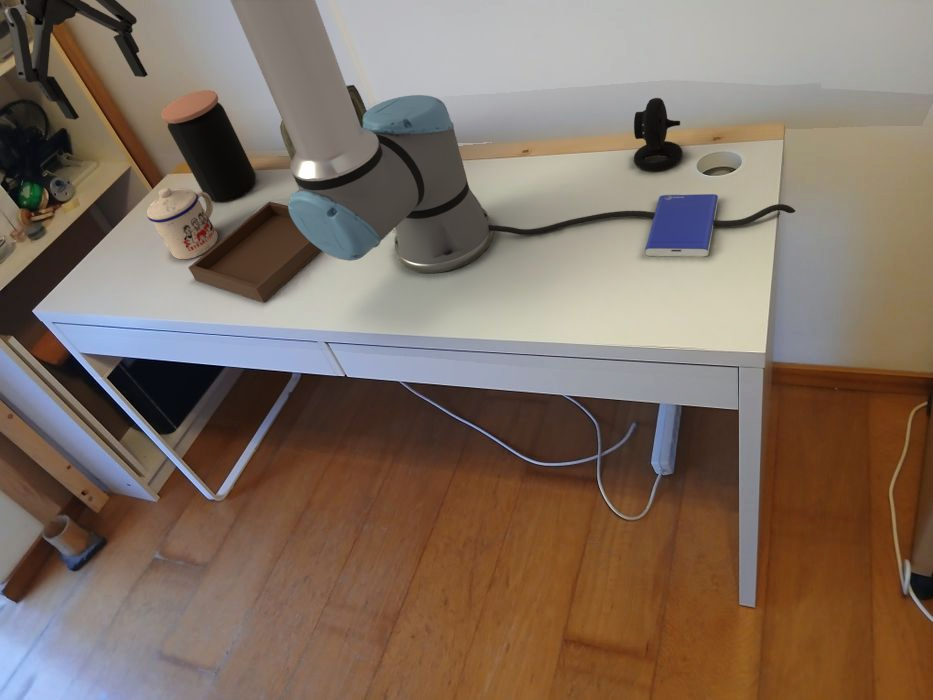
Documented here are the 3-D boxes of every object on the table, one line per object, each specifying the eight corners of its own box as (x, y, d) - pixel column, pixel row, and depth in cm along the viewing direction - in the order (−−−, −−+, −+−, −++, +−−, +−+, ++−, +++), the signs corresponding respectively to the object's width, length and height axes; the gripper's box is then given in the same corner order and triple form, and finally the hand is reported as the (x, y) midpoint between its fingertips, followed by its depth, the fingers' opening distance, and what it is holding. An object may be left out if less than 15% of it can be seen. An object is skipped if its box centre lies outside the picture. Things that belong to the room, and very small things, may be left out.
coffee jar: (267, 172, 151) (227, 87, 139) (242, 203, 144) (197, 116, 132) (223, 175, 155) (180, 92, 143) (196, 205, 148) (149, 121, 136)
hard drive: (659, 194, 111) (645, 247, 103) (717, 193, 108) (707, 247, 100) (659, 203, 112) (646, 256, 104) (718, 202, 109) (708, 256, 101)
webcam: (638, 147, 125) (633, 90, 118) (685, 145, 122) (682, 86, 115) (630, 173, 120) (623, 115, 113) (678, 172, 117) (675, 112, 110)
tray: (344, 230, 128) (338, 216, 126) (264, 303, 118) (256, 289, 116) (275, 214, 138) (269, 201, 136) (195, 280, 128) (187, 267, 126)
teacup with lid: (197, 263, 132) (163, 207, 124) (161, 258, 136) (127, 203, 128) (239, 222, 139) (210, 167, 131) (204, 219, 143) (174, 165, 135)
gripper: (83, -79, 114) (154, 58, 128) (-69, -9, 102) (29, 134, 116) (110, -82, 110) (181, 60, 124) (-45, -9, 97) (54, 139, 111)
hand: (108, 96), depth 120 cm, fingers open, 13 cm apart
